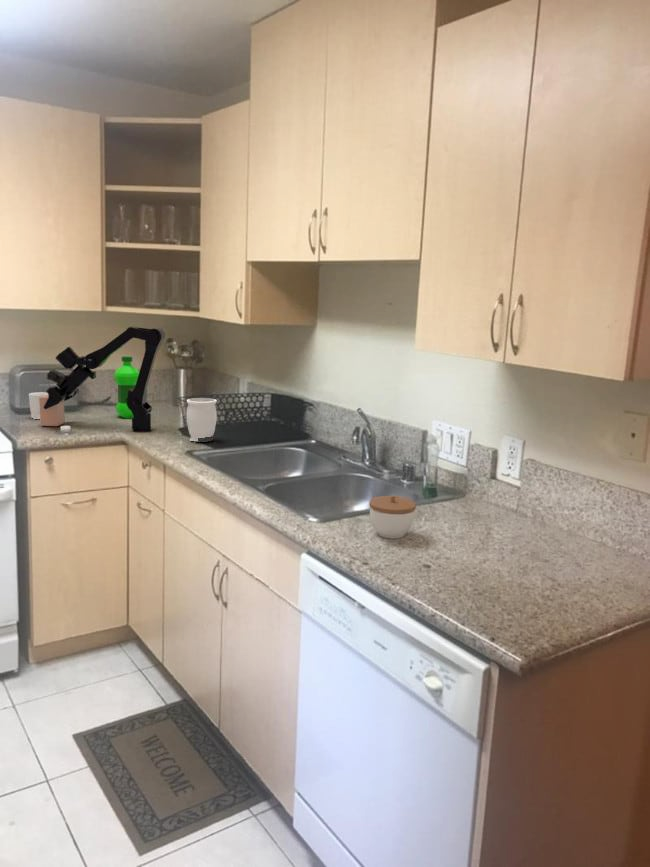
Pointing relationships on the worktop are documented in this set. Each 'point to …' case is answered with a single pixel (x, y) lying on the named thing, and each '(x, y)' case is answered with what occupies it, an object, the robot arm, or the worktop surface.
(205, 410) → the jar
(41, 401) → the pink square bottle
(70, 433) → the grey curved piece
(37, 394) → the white cup
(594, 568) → the worktop surface
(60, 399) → the robot arm
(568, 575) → the worktop surface
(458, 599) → the worktop surface
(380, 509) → the lidded jar
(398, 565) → the worktop surface
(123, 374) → the plastic bottle
